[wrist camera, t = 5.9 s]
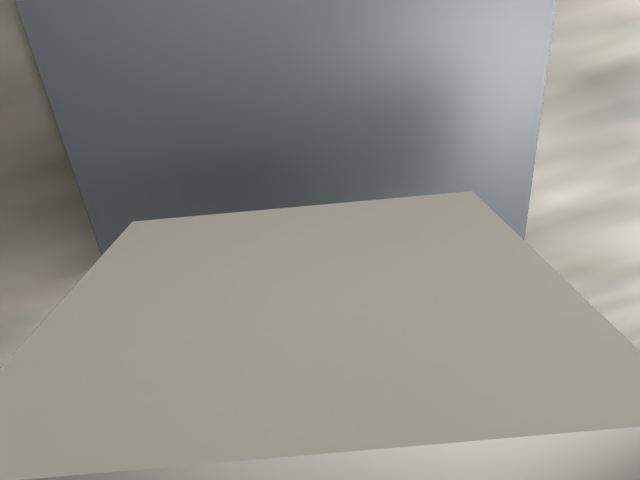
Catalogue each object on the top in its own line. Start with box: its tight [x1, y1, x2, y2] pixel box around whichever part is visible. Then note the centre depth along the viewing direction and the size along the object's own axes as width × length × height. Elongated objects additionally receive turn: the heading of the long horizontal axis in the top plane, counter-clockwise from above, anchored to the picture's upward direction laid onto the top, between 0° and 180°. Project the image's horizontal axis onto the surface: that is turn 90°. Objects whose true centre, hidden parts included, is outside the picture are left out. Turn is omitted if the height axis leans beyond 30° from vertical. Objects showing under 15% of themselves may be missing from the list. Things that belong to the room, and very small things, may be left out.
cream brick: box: [0, 191, 640, 480], centre depth 7 cm, size 6×6×5 cm
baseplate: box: [15, 0, 556, 255], centre depth 15 cm, size 14×14×2 cm
